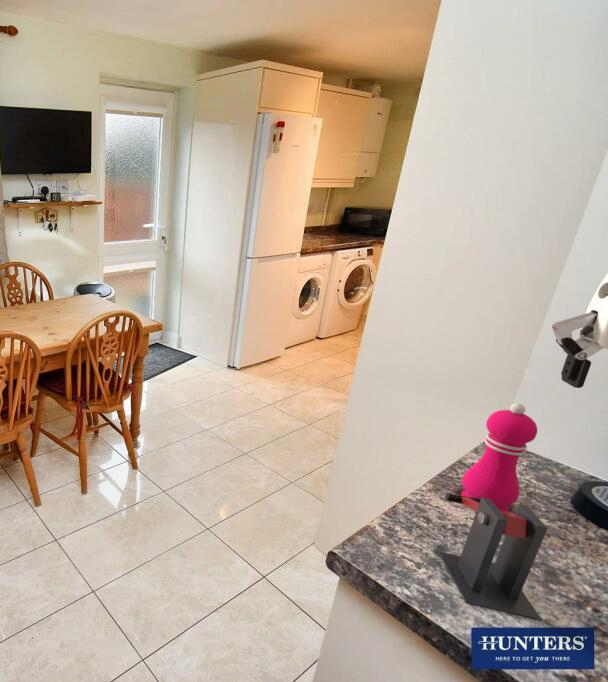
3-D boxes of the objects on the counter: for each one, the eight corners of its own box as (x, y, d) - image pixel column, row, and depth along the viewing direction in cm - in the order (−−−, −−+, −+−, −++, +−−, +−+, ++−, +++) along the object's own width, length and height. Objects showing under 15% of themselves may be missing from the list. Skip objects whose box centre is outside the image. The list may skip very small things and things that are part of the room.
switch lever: (443, 503, 69) (445, 488, 69) (478, 510, 67) (480, 494, 68) (493, 532, 56) (494, 513, 56) (536, 540, 55) (538, 521, 55)
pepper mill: (445, 500, 78) (479, 397, 72) (472, 491, 81) (506, 391, 74) (492, 527, 72) (533, 417, 66) (519, 517, 74) (562, 410, 68)
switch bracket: (436, 557, 66) (460, 484, 62) (501, 571, 63) (530, 496, 59) (463, 608, 58) (493, 528, 54) (539, 626, 55) (576, 544, 51)
